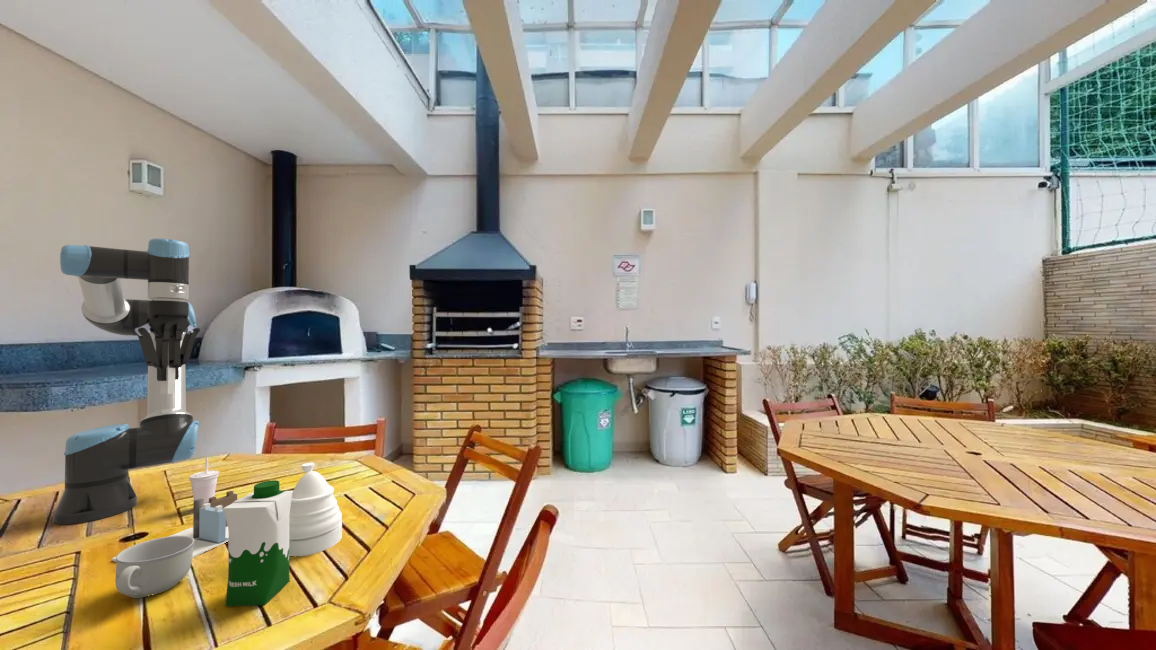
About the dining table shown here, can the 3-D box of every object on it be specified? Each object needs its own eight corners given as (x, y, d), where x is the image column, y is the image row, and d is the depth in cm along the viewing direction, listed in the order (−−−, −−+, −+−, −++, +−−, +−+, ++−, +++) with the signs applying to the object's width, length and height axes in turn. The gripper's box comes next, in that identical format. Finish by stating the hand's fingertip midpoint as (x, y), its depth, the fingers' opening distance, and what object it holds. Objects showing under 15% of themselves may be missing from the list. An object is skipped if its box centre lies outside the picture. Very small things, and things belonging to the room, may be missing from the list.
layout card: (112, 560, 91) (112, 557, 91) (219, 519, 111) (219, 516, 111) (161, 572, 87) (161, 569, 87) (263, 526, 107) (264, 524, 107)
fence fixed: (191, 537, 100) (191, 501, 100) (232, 520, 109) (232, 487, 109) (196, 538, 100) (196, 502, 100) (237, 521, 108) (237, 488, 108)
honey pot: (269, 544, 98) (270, 467, 98) (330, 524, 108) (330, 454, 108) (287, 563, 89) (288, 479, 90) (351, 540, 99) (351, 464, 100)
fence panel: (218, 542, 97) (218, 508, 97) (199, 538, 99) (199, 504, 100) (225, 539, 98) (225, 505, 99) (206, 535, 101) (206, 502, 101)
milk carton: (297, 579, 84) (297, 479, 84) (265, 609, 75) (266, 496, 75) (251, 580, 83) (252, 480, 84) (214, 611, 74) (215, 498, 75)
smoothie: (224, 505, 120) (224, 456, 121) (198, 514, 114) (198, 463, 115) (209, 502, 123) (210, 454, 123) (183, 511, 116) (183, 460, 117)
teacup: (152, 573, 86) (152, 534, 86) (208, 570, 87) (208, 532, 87) (77, 619, 72) (77, 573, 72) (145, 615, 73) (145, 569, 73)
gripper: (145, 298, 99) (144, 398, 99) (208, 302, 111) (207, 390, 111) (125, 299, 101) (124, 396, 101) (188, 302, 114) (187, 389, 113)
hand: (167, 393), depth 106 cm, fingers closed
